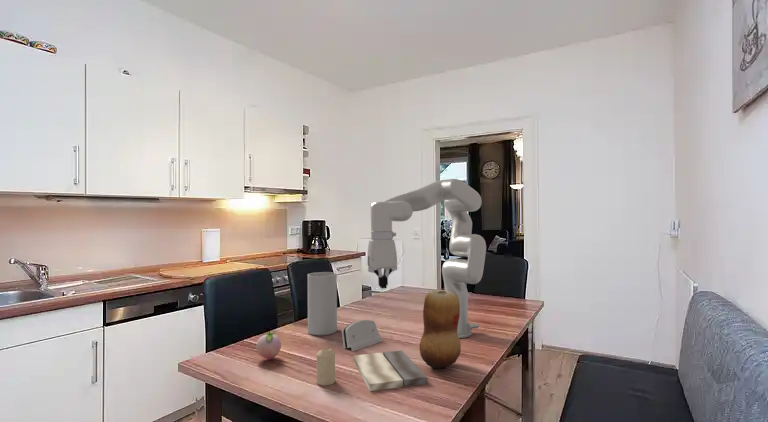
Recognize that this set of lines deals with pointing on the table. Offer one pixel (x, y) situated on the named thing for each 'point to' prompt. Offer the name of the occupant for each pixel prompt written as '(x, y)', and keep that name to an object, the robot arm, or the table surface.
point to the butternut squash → (440, 329)
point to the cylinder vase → (322, 303)
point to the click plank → (377, 372)
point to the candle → (325, 367)
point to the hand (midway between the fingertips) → (383, 287)
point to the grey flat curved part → (360, 334)
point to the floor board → (405, 368)
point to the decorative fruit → (268, 345)
